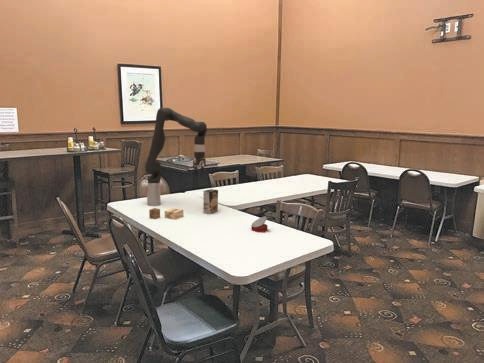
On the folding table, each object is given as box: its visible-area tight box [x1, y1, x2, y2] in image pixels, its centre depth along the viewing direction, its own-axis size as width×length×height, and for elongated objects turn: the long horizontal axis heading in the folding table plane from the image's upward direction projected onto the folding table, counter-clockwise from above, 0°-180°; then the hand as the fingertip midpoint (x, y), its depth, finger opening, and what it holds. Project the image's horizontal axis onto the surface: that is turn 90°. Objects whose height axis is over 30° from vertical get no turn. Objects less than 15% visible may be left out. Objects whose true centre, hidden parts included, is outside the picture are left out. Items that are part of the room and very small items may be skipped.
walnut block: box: [148, 208, 161, 220], centre depth 274 cm, size 5×5×6 cm
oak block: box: [164, 208, 184, 220], centre depth 276 cm, size 9×9×5 cm
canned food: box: [250, 216, 268, 233], centre depth 249 cm, size 11×10×10 cm
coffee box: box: [202, 189, 219, 215], centre depth 290 cm, size 9×6×16 cm
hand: (199, 173), depth 286 cm, fingers open, 8 cm apart
